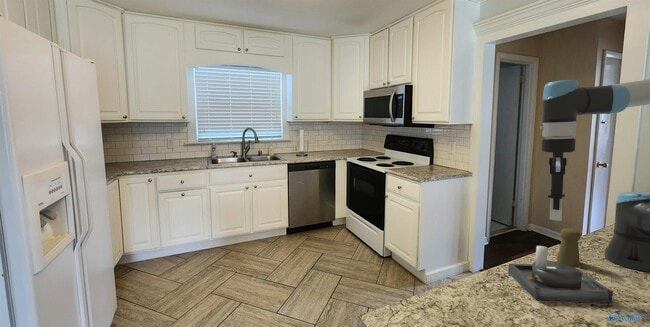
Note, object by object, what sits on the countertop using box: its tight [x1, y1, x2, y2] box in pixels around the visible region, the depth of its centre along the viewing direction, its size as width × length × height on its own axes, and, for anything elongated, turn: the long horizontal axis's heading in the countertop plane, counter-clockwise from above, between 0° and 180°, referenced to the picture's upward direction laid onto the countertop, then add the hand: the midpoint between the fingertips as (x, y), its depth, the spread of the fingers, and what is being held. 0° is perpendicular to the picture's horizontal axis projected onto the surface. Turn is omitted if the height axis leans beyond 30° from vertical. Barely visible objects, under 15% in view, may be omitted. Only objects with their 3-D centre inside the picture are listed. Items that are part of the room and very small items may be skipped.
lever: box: [532, 245, 582, 289], centre depth 86 cm, size 11×11×9 cm
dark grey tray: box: [507, 263, 614, 304], centre depth 87 cm, size 18×15×3 cm
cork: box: [556, 227, 582, 267], centre depth 102 cm, size 6×6×11 cm
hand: (555, 219), depth 89 cm, fingers closed
